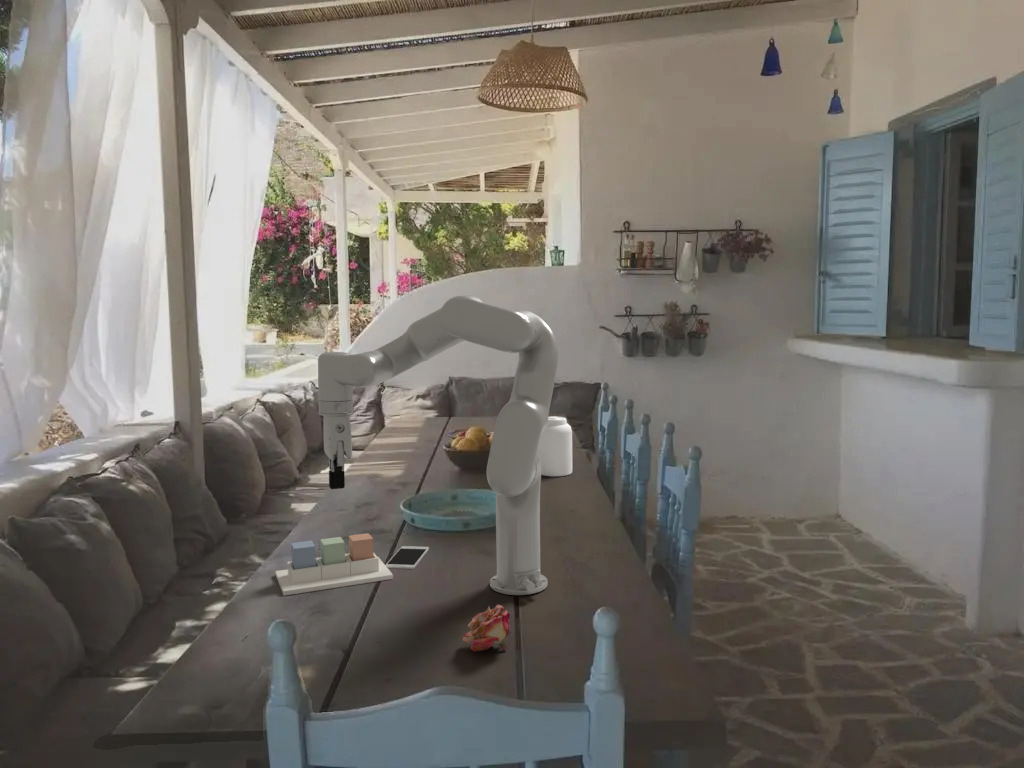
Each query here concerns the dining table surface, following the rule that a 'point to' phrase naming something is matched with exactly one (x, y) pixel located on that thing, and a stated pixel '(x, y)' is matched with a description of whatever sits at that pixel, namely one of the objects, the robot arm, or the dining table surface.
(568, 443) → the white jar
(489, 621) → the flower
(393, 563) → the smartphone
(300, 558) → the slate button
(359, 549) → the terracotta button
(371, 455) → the dining table surface
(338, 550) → the sage button
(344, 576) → the board
